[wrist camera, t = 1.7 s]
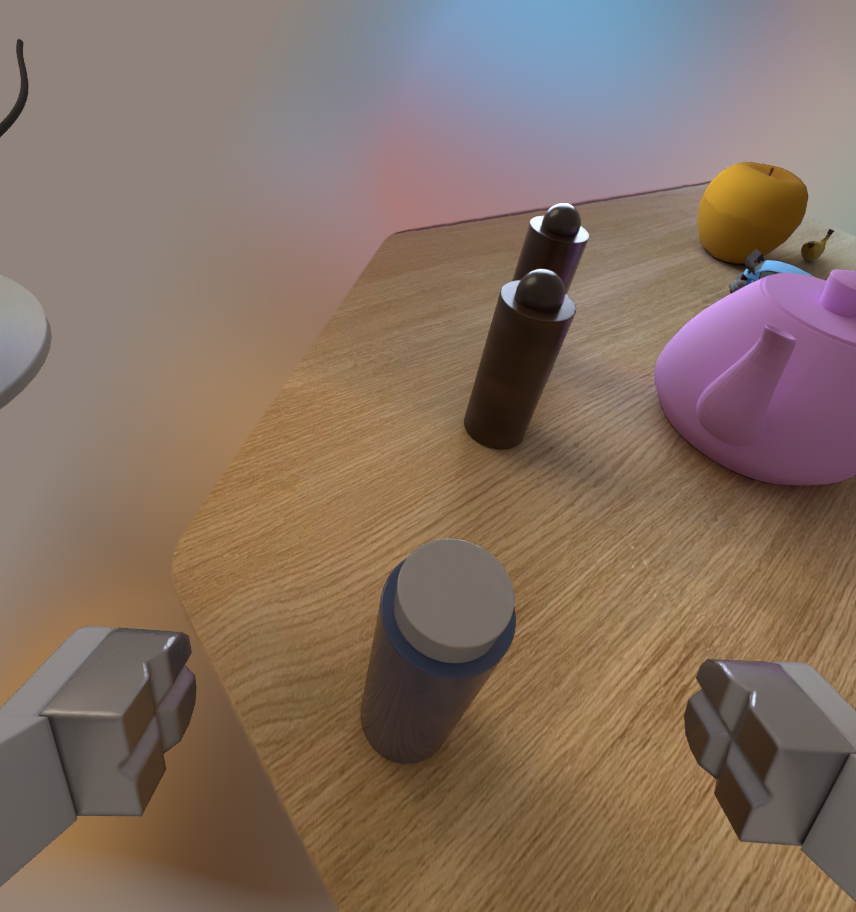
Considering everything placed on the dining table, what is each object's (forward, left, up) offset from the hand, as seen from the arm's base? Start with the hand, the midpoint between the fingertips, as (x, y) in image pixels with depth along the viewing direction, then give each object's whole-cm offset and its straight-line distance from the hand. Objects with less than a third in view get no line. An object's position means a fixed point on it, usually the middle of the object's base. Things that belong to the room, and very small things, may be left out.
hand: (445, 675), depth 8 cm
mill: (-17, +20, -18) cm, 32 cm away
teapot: (-8, +41, -18) cm, 45 cm away
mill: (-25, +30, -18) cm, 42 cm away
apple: (-32, +76, -18) cm, 84 cm away
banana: (-26, +89, -18) cm, 94 cm away
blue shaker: (-3, +4, -18) cm, 18 cm away
